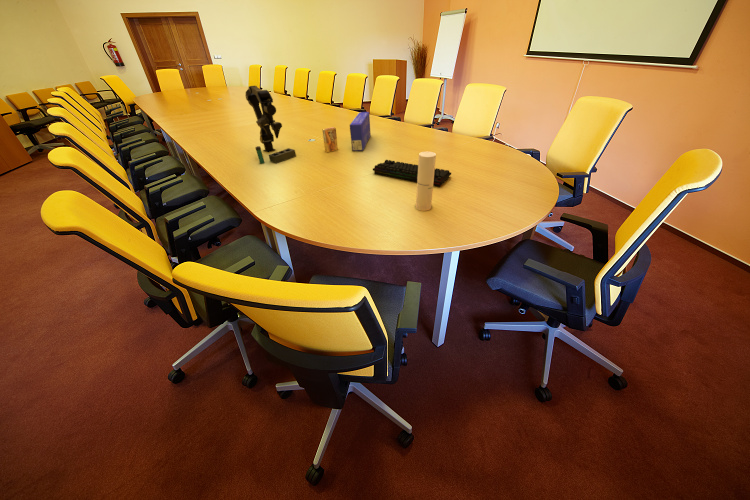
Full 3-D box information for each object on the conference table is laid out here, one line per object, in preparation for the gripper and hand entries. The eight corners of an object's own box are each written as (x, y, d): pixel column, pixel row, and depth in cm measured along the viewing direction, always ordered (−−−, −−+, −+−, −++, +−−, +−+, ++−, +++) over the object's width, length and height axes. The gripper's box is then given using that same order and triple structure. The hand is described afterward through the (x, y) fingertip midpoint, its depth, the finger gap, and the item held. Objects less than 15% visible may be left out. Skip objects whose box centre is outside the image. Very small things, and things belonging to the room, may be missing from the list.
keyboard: (451, 177, 163) (452, 168, 160) (440, 188, 152) (441, 179, 149) (386, 165, 182) (386, 157, 179) (372, 174, 170) (372, 166, 168)
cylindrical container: (414, 204, 139) (417, 152, 124) (429, 203, 139) (433, 151, 124) (417, 211, 133) (420, 157, 118) (432, 210, 133) (437, 156, 118)
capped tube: (258, 163, 193) (254, 147, 186) (262, 161, 195) (258, 145, 188) (261, 164, 191) (257, 148, 185) (265, 162, 193) (261, 146, 187)
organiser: (270, 161, 194) (268, 155, 192) (290, 154, 205) (288, 148, 202) (276, 163, 191) (274, 156, 188) (296, 156, 202) (294, 149, 199)
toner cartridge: (360, 136, 237) (359, 111, 226) (370, 136, 236) (369, 111, 225) (351, 151, 206) (349, 124, 195) (363, 151, 205) (361, 124, 194)
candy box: (335, 148, 213) (332, 126, 204) (338, 149, 210) (335, 127, 201) (324, 151, 208) (321, 128, 199) (328, 152, 206) (325, 130, 197)
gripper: (248, 113, 186) (254, 137, 195) (264, 116, 176) (271, 142, 186) (263, 109, 193) (268, 134, 202) (279, 113, 183) (285, 138, 192)
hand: (273, 137), depth 195 cm, fingers open, 9 cm apart
